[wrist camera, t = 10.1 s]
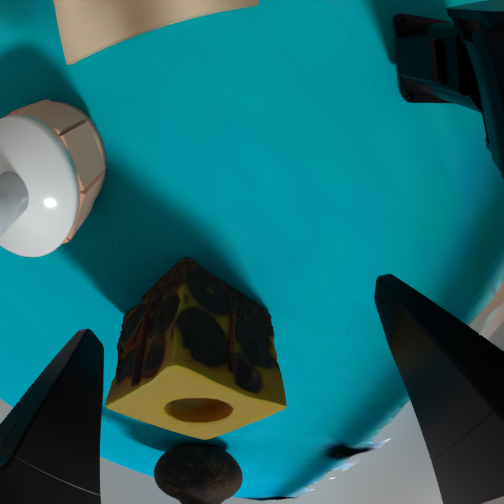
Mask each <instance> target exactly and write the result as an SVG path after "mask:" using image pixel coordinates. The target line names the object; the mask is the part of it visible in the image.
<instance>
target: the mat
mask: <svg viewBox="0 0 504 504" xmlns="http://www.w3.org/2000/svg"><path fill="white" fill-rule="evenodd" d="M258 4H259V2H258V0H54V5H55V11H56V17H57V22H58V27H59V32H60V37H61V41H62V46H63V50H64V54H65V59H66V63H67V65H68V64H74V63H76V62H78V61H79V60H81V59H83V58H86V57H88V56H90V55H92V54H94V53H96V52H98V51H100V50H103V49H105V48H107V47H110V46H112V45H114V44H117V43H119V42H122V41H124V40H127V39H129V38H132V37H134V36H137V35H140V34H143V33H146V32H148V31H151V30H154V29H157V28H161V27H164V26H167V25H170V24H174V23H177V22H181V21H184V20H188V19H192V18H196V17H200V16H204V15H209V14H213V13H218V12H223V11H228V10H233V9H239V8H245V7H252V6H258Z"/></svg>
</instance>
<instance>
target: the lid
mask: <svg viewBox="0 0 504 504" xmlns="http://www.w3.org/2000/svg"><path fill="white" fill-rule="evenodd" d="M79 205H80V186H79V179H78V175H77V170H76V167H75V164H74V161H73V159H72V157H71V154H70V152H69V150H68V149H67V147H66V145H65V144H64V142H63V141H62V139H61V138H60V137H59V135H58V134H57V133H56V132H55V131H54V130H53V129H52V128H51V127H50V126H49V125H47V124H46V123H45V122H43V121H41V120H40V119H38V118H36V117H33V116H30V115H25V114H13V115H8V116H6V117H3V118H1V119H0V245H1V246H2V247H4V248H5V249H7V250H9V251H11V252H13V253H15V254H18V255H21V256H26V257H39V256H43V255H46V254H49V253H51V252H52V251H54V250H55V249H56V248H57V247H59V246H60V245H61V243H62V242H63V241H64V239H65V238H66V236H67V235H68V234H69V232H70V231H71V229H72V227H73V226H74V224H75V221H76V218H77V215H78V211H79Z"/></svg>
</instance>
